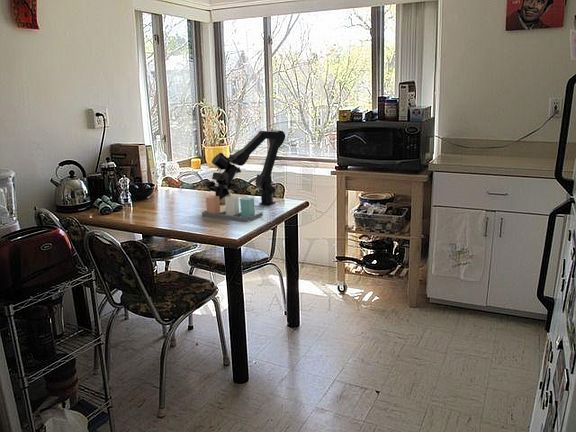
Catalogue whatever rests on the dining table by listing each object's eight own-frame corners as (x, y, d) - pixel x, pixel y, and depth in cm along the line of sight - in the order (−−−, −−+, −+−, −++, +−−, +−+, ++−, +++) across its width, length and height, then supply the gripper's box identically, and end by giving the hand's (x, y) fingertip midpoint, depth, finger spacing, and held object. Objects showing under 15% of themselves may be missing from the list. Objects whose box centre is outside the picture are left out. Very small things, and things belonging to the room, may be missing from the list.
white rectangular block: (231, 213, 242) (230, 195, 240) (239, 214, 240) (238, 196, 237) (226, 215, 239) (224, 197, 237) (234, 216, 237) (233, 198, 234)
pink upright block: (212, 213, 244) (211, 195, 242) (220, 214, 242) (219, 196, 239) (207, 215, 241) (205, 197, 239) (215, 216, 238) (213, 198, 236)
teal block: (246, 215, 238) (245, 197, 235) (254, 216, 235) (253, 198, 233) (241, 217, 234) (240, 199, 232) (249, 218, 232) (248, 200, 230)
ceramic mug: (218, 205, 264) (218, 191, 262) (216, 202, 271) (216, 188, 269) (238, 204, 266) (238, 190, 264) (236, 201, 274) (235, 187, 272)
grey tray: (217, 210, 253) (217, 205, 252) (267, 217, 238) (266, 211, 237) (199, 217, 242) (198, 212, 241) (249, 224, 226) (249, 218, 226)
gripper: (205, 164, 247) (192, 191, 240) (236, 166, 237) (223, 194, 231) (216, 177, 255) (204, 203, 249) (246, 180, 246) (234, 206, 239)
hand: (216, 201), depth 242 cm, fingers closed, pressing on pink upright block
